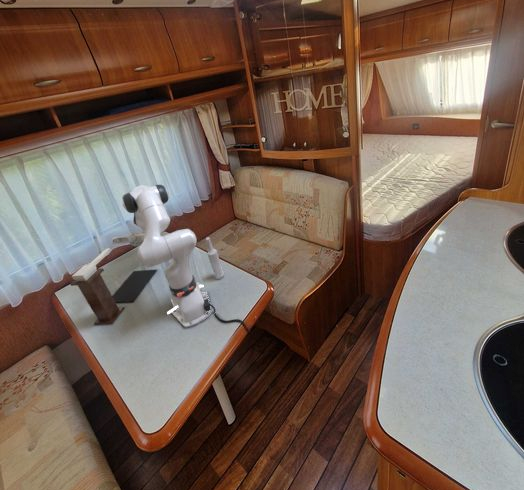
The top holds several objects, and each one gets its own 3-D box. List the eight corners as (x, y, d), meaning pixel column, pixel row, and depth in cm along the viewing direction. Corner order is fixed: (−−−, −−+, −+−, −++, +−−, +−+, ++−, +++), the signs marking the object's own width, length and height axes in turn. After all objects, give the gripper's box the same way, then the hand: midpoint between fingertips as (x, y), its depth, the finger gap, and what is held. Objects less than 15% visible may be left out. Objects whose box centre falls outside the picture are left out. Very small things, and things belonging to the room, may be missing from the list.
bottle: (222, 279, 146) (210, 241, 136) (213, 279, 148) (201, 241, 137) (225, 273, 151) (214, 235, 141) (217, 273, 152) (205, 236, 142)
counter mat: (133, 302, 143) (132, 301, 143) (107, 303, 147) (106, 302, 146) (156, 270, 167) (156, 269, 166) (134, 272, 170) (133, 271, 169)
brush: (86, 281, 122) (82, 275, 121) (75, 282, 123) (71, 276, 122) (116, 252, 142) (113, 247, 140) (106, 253, 143) (103, 248, 142)
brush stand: (112, 324, 131) (88, 282, 121) (94, 324, 133) (69, 283, 123) (124, 308, 140) (103, 268, 130) (107, 308, 142) (85, 269, 132)
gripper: (121, 234, 166) (104, 235, 153) (151, 232, 162) (135, 232, 149) (122, 245, 166) (104, 247, 152) (151, 242, 162) (136, 244, 148)
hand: (120, 239), depth 150 cm, fingers open, 8 cm apart
